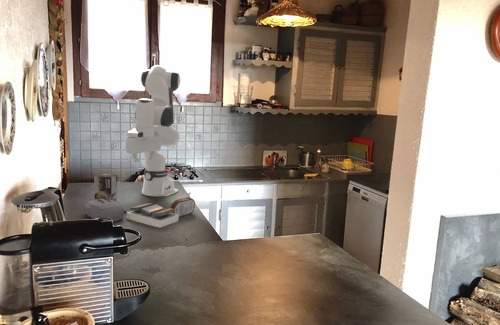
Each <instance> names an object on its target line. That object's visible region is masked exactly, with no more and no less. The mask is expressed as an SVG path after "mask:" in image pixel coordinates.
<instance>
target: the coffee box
mask: <svg viewBox="0 0 500 325" xmlns="http://www.w3.org/2000/svg"><path fill="white" fill-rule="evenodd" d="M117 177H118V176H117V174H113V173H112V174H111V173H110V174H109V173H98V174H96V175H94V177H93V178H94V182H93V185H94V199H104V198H106V199H109V200H113V201H116V202H117V189H118V188H117V181H118V180H117Z"/></svg>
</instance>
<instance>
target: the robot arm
mask: <svg viewBox="0 0 500 325" xmlns="http://www.w3.org/2000/svg"><path fill="white" fill-rule="evenodd" d="M140 75H141V76H140V82H141V85H142V86H143V87H144V88H145V91H146V92H147V93H148V94H149V95H150V97H151V98H145V97H144V98H139V99H137V101H136V107H135V111H134V114H135V115H134V118H135V126H134V128H133V129H131V130H129V131H127V132H126V137H127V138H126V140H125V152H126V153H127V154H131V155H132V157H133V162H134V163H139V162H140V158H138V155H139V154H142V153H143V154H144V158H145V159H144V161H145V164H144V165H145V167H144V175H143V176H144V178H143V184H142V189H141V194H142V195H144V196H146V197H147V196H148V197H168V196H172V195H173V194H176V193H178V192H179V189H178V188H175V181H174V180H172V179H171V177H169V176H168V174H171V170H170V169H166V156H165V154H164V153H162V152H160V151H161V149H162V147H173V146H174V147H175V146H176V145H177V144H178V143H179V141H180V132H179V131H178V130H177V129H176V128H175V127H174V126H173V125H174V123H175V120H176V114H175V110H174V100H173V99H174V98H173V93H174V92H175V91H177V90H178V88H179V86H180V85H181V77H180V74H179V73H178V72H177V71H174V70H172V71H171V70H167V69H166V68H165V67H164V66H162V65H159V64H156V65H153V66H152V67H151V68H149V69H145V70H143V71H142V73H141V74H140Z"/></svg>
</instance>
